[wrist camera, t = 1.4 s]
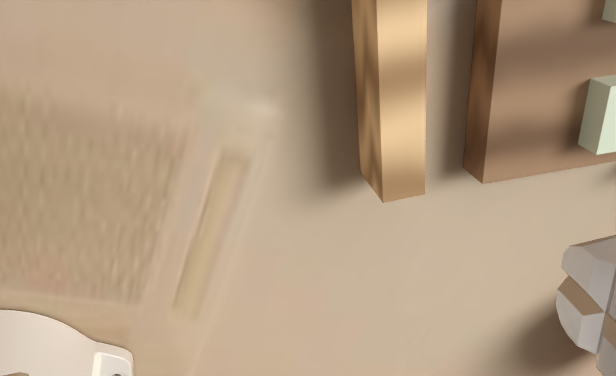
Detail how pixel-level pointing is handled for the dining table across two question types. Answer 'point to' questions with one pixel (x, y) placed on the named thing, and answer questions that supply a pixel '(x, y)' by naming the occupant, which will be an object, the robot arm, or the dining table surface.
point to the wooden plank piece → (391, 94)
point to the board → (534, 85)
